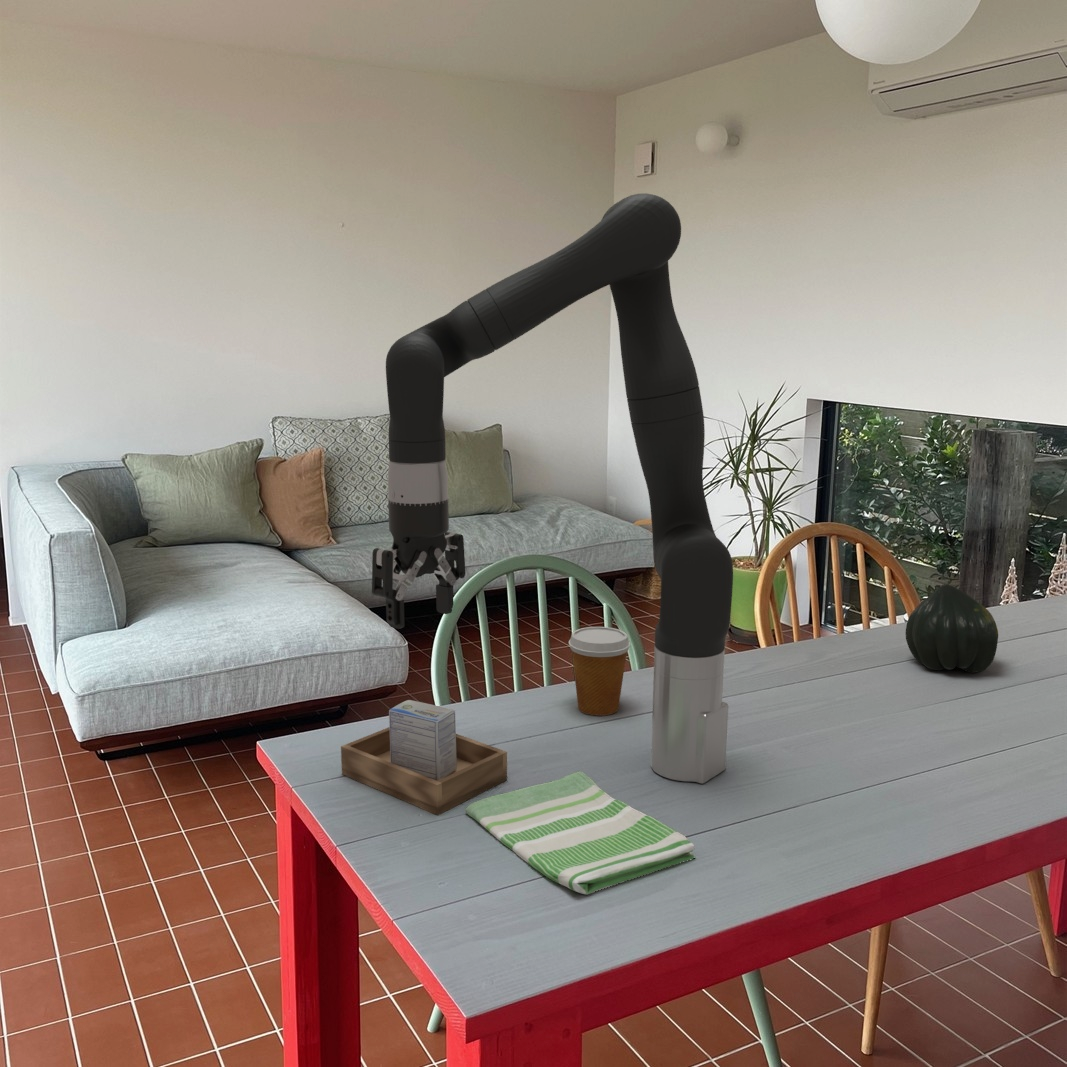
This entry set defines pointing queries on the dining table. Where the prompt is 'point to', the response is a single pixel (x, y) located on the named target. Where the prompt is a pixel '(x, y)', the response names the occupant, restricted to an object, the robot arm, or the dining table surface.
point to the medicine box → (423, 738)
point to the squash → (952, 632)
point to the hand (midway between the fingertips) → (421, 619)
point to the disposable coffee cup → (598, 668)
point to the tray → (375, 769)
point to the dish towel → (580, 833)
